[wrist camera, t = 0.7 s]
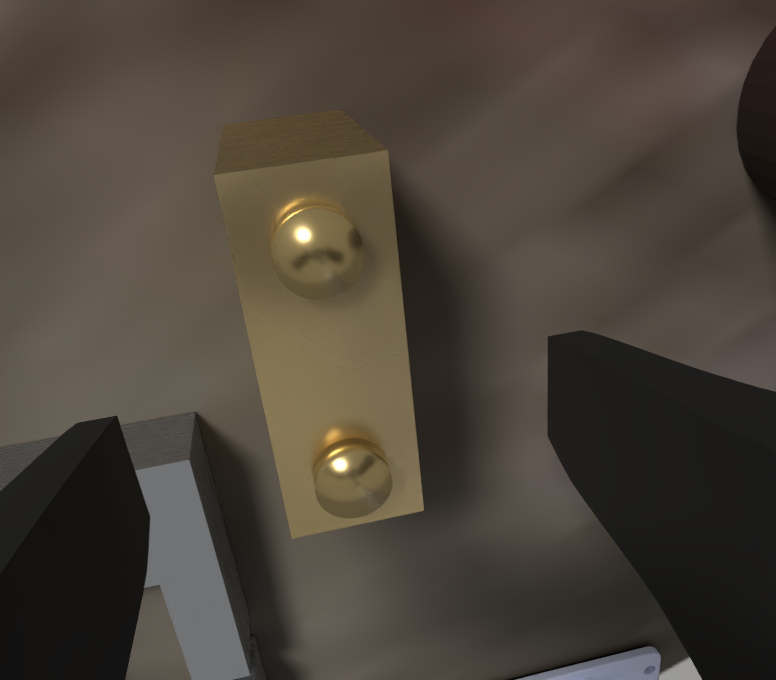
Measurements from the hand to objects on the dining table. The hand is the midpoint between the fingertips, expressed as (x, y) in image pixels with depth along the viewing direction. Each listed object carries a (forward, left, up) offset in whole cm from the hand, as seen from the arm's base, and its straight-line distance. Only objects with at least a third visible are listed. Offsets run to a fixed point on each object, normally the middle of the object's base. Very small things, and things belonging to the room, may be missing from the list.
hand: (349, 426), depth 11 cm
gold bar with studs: (0, 0, -9) cm, 9 cm away
